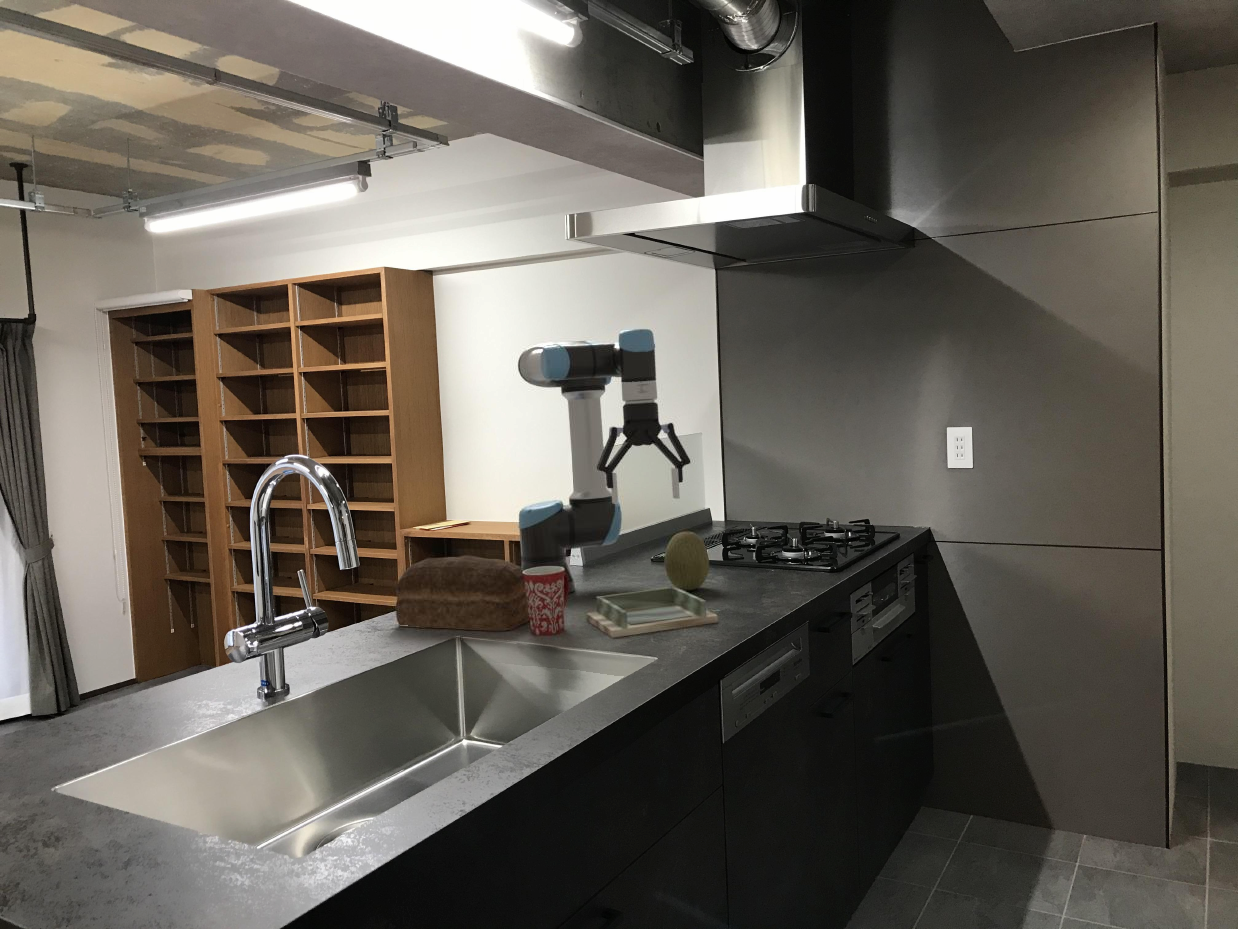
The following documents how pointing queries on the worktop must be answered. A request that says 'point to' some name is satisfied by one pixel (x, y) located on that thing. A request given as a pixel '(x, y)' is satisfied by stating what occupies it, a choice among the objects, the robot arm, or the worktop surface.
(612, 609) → the tray
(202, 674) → the worktop surface
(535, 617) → the mug
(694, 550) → the fruit
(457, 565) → the bread
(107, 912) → the worktop surface
